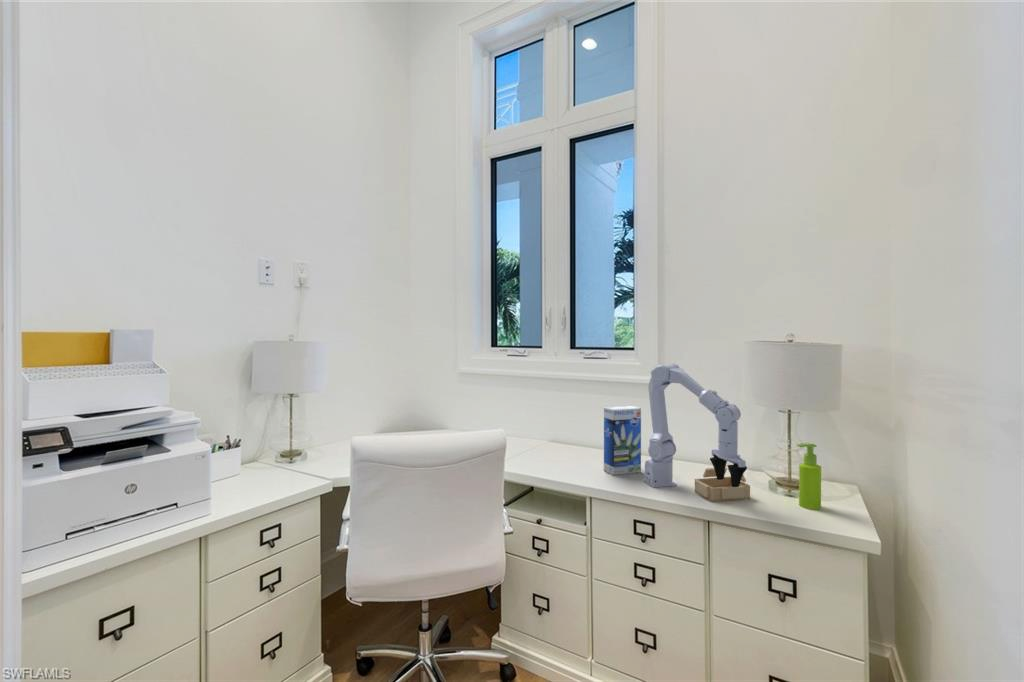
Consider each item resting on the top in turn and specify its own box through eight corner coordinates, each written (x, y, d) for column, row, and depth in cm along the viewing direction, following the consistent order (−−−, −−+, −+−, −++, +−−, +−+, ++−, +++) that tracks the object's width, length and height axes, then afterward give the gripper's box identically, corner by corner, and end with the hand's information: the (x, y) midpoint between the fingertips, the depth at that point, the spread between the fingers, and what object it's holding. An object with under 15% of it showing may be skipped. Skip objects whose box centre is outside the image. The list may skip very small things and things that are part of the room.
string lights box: (612, 475, 179) (612, 409, 179) (602, 470, 186) (602, 406, 186) (641, 472, 183) (641, 407, 183) (631, 467, 191) (631, 405, 190)
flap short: (744, 482, 155) (740, 473, 155) (731, 476, 161) (727, 468, 161) (746, 481, 155) (741, 472, 155) (733, 475, 162) (729, 466, 161)
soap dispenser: (791, 502, 150) (792, 441, 150) (813, 503, 150) (813, 441, 149) (802, 509, 144) (803, 446, 144) (825, 509, 144) (825, 446, 143)
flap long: (704, 477, 160) (707, 470, 159) (702, 475, 161) (705, 468, 159) (723, 476, 162) (727, 468, 160) (722, 474, 163) (725, 467, 161)
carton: (711, 503, 150) (711, 489, 150) (692, 492, 160) (692, 478, 160) (752, 500, 152) (752, 486, 152) (730, 489, 163) (730, 476, 163)
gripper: (754, 446, 145) (753, 489, 145) (724, 436, 159) (724, 475, 160) (734, 447, 144) (734, 490, 144) (706, 437, 158) (706, 476, 158)
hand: (727, 482), depth 152 cm, fingers open, 7 cm apart
